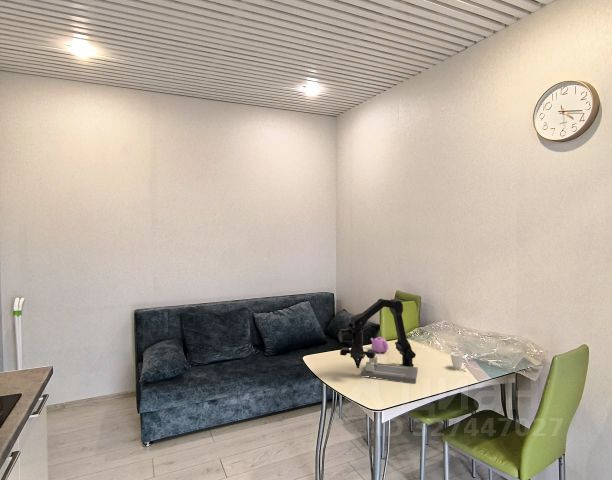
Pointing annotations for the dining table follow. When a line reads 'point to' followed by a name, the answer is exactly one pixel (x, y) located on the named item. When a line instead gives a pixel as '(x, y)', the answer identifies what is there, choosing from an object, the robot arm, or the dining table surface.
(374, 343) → the teapot
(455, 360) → the cup
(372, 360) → the block
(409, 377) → the console
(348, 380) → the dining table surface
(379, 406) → the dining table surface
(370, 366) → the sage fader
